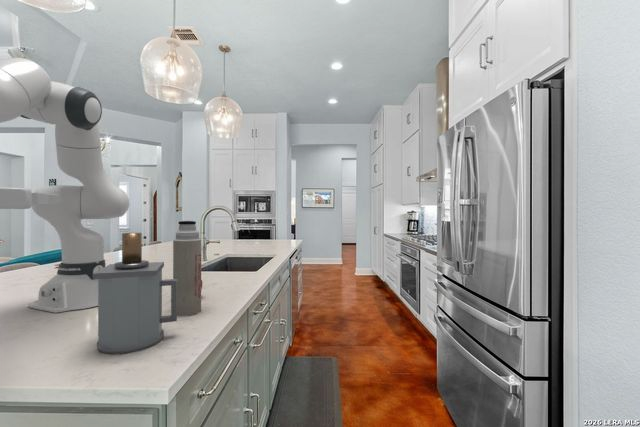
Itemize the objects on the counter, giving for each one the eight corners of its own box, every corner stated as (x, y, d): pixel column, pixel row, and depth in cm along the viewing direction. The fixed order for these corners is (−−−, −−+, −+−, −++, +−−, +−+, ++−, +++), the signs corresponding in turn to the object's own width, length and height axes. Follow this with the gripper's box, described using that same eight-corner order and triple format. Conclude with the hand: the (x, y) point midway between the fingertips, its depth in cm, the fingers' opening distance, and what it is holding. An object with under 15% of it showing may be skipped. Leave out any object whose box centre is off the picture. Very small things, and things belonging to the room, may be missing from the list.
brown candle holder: (100, 321, 68) (100, 235, 68) (113, 308, 78) (113, 232, 77) (151, 316, 71) (151, 234, 71) (158, 304, 81) (158, 231, 81)
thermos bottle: (206, 308, 99) (206, 220, 99) (191, 317, 92) (191, 221, 91) (183, 306, 101) (184, 220, 101) (167, 315, 93) (167, 221, 93)
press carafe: (87, 358, 66) (87, 274, 66) (107, 333, 79) (107, 263, 79) (173, 347, 71) (174, 270, 71) (179, 326, 84) (179, 260, 84)
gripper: (-51, 175, 46) (66, 182, 57) (-50, 180, 60) (45, 185, 70) (-51, 218, 47) (67, 216, 57) (-50, 213, 60) (45, 213, 70)
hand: (55, 199), depth 64 cm, fingers open, 8 cm apart
